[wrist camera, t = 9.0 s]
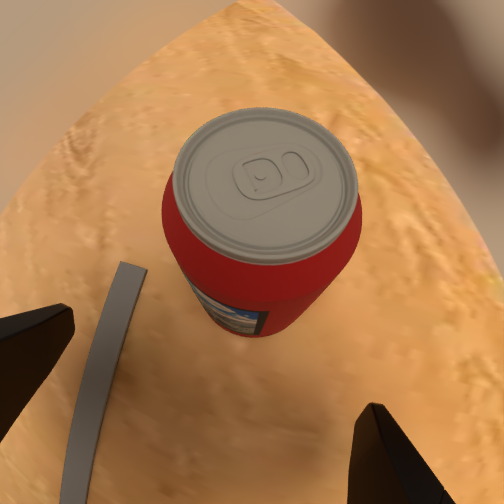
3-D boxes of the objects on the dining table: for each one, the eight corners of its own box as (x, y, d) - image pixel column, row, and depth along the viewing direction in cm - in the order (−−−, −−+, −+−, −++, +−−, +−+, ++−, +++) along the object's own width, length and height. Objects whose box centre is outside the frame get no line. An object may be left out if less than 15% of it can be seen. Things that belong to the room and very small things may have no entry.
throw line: (84, 516, 13) (82, 517, 13) (61, 503, 13) (59, 504, 13) (147, 270, 20) (146, 269, 20) (122, 262, 20) (120, 261, 20)
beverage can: (185, 257, 20) (130, 127, 9) (280, 223, 21) (313, 80, 10) (222, 355, 18) (189, 330, 7) (323, 314, 19) (421, 233, 8)
